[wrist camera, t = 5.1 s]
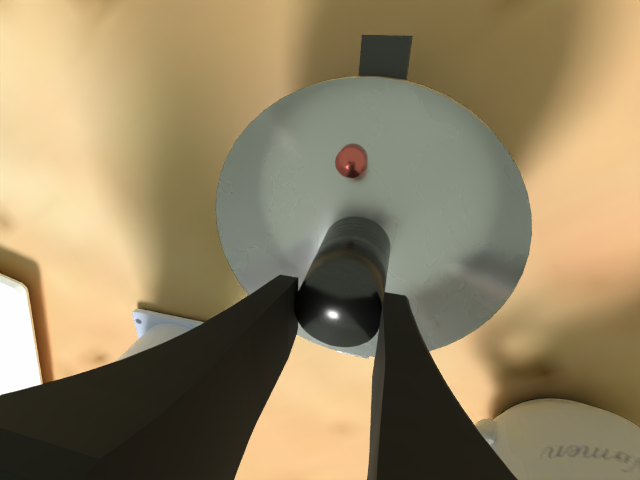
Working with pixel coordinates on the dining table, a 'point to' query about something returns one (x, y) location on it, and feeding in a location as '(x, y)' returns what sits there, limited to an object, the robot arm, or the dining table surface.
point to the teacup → (564, 441)
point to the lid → (375, 210)
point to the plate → (17, 338)
